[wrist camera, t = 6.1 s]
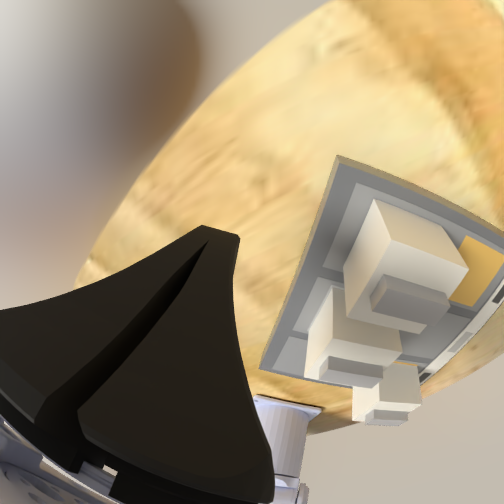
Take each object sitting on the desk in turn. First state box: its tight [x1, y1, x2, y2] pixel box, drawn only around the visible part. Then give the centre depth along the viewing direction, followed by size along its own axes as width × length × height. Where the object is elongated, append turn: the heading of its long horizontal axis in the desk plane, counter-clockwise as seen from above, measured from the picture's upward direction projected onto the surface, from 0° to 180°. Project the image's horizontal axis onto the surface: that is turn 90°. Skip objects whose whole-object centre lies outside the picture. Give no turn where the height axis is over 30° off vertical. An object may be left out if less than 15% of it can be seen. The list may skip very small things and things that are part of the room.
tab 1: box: [343, 199, 469, 334], centre depth 10 cm, size 4×4×4 cm
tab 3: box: [352, 363, 422, 426], centre depth 17 cm, size 4×4×4 cm
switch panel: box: [259, 155, 504, 389], centre depth 16 cm, size 17×15×2 cm
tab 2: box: [304, 288, 403, 389], centre depth 14 cm, size 4×4×4 cm
